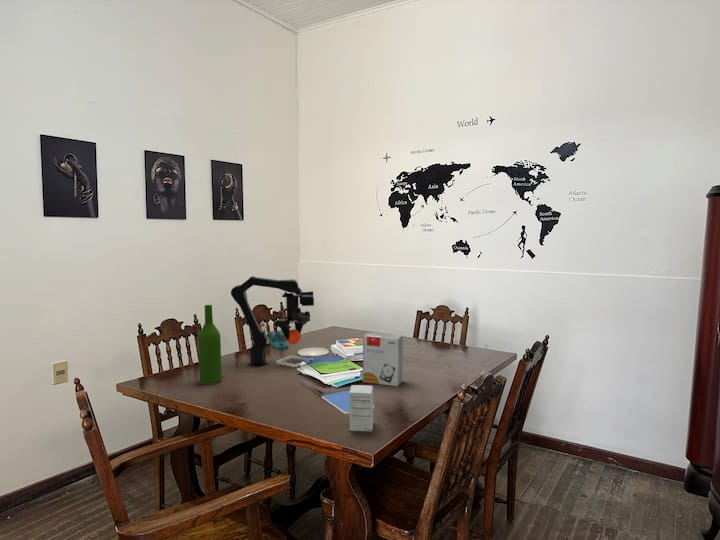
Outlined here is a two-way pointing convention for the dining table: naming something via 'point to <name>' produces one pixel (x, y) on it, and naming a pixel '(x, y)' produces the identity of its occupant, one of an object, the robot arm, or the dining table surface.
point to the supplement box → (361, 408)
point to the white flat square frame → (289, 363)
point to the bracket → (277, 340)
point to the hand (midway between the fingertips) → (293, 338)
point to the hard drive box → (382, 358)
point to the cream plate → (313, 351)
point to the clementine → (294, 336)
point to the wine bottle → (209, 350)
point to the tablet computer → (339, 401)
